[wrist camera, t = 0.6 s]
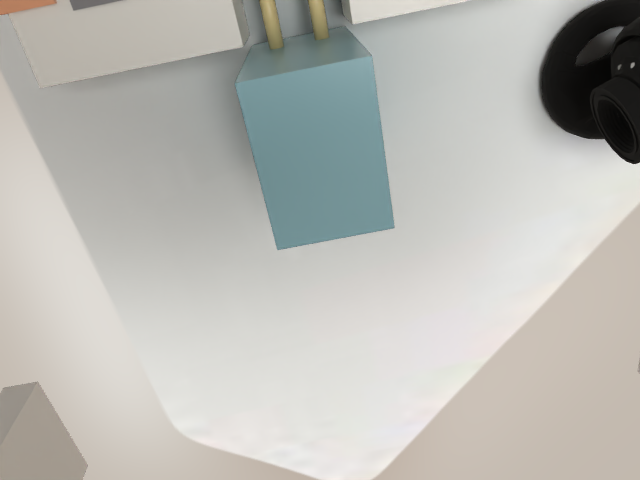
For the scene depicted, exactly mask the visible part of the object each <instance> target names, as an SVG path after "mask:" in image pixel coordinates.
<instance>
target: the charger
mask: <svg viewBox="0 0 640 480" xmlns="http://www.w3.org/2000/svg"><path fill="white" fill-rule="evenodd" d="M259 2H260V7H261V11H262V16H263V20H264V25H265V30H266V34H267V39H268V42H265V43H260V44H255V45H252V47H251V49H250V51H249V53H248V55H247V57H246V60H245V62H244V64H243V66H242V68H241V71H240V73H239V75H238V77H237V79H236V81H235V86H236V90H237V94H238V98H239V102H240V106H241V110H242V114H243V118H244V122H245V125H246V129H247V133H248V137H249V141H250V145H251V149H252V153H253V157H254V160H255V164H256V168H257V172H258V176H259V180H260V184H261V188H262V192H263V196H264V199H265V203H266V207H267V211H268V215H269V219H270V223H271V227H272V231H273V234H274V238H275V242H276V246H277V250H281V249H286V248H291V247H297V246H302V245H307V244H313V243H318V242H323V241H329V240H334V239H339V238H345V237H350V236H355V235H360V234H366V233H371V232H376V231H382V230H387V229H392V228H394V220H393V212H392V205H391V197H390V189H389V182H388V174H387V167H386V159H385V151H384V144H383V136H382V129H381V121H380V113H379V106H378V98H377V90H376V83H375V75H374V68H373V60H372V55H371V54H370V53H369V52H368V51H367V50H366V48H365V47H364V46H363V45H362V44H361V43H360V42H359V41H358V40H357V39H356V37H355V36H354V35H353V34H352V33H351V32H350V31H349V30H348V29H347V28H346V26H343V27H339V28H334V29H329V30H328V26H327V20H326V14H325V8H324V2H323V0H308V4H309V10H310V15H311V21H312V26H313V32H314V33H309V34H304V35H299V36H295V37H290V38H285V39H283V38H282V34H281V29H280V24H279V19H278V14H277V9H276V4H275V0H259Z"/></svg>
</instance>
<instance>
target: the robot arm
mask: <svg viewBox="0 0 640 480" xmlns="http://www.w3.org/2000/svg"><path fill="white" fill-rule="evenodd" d="M638 372H639V373H640V360H639V367H638ZM87 467H88V465H87V463H86V461H85V460H84V458H83V456H82V455H81V453H80V451H79V449H78V448H77V446H76V445H75V443H74V441H73V439H72V438H71V436H70V434H69V433H68V431H67V429H66V428H65V426H64V424H63V423H62V421H61V419H60V418H59V416H58V414H57V413H56V411H55V409H54V408H53V406H52V404H51V403H50V401H49V399H48V398H47V396H46V395H45V393H44V391H43V389H42V388H41V386H40V384H39V383H38V382H33V383H28V384H22V385H16V386H11V387H5V388H3V390H2V391H1V393H0V480H82V479H83V477H84V474H85V472H86V469H87Z"/></svg>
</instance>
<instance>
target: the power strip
mask: <svg viewBox="0 0 640 480" xmlns="http://www.w3.org/2000/svg"><path fill="white" fill-rule="evenodd" d="M466 1H471V0H341V2H342V9H343V15H344V17H345V18H346V19H347V20H348V21H350V22H351V23H352V24H358V23H363V22H368V21H373V20H378V19H383V18H388V17H393V16H397V15H402V14H407V13H412V12H417V11H422V10H427V9H432V8H437V7H441V6H446V5H451V4H456V3H461V2H466ZM4 14H8V15H9V17H10V20H11V22H12V24H13V27H14V29H15V31H16V34H17V36H18V38H19V41H20V43H21V45H22V47H23V50H24V52H25V54H26V57H27V59H28V61H29V64H30V66H31V68H32V71H33V73H34V75H35V78H36V80H37V82H38V85H39V87H40V88H45V87H50V86H55V85H60V84H65V83H70V82H74V81H79V80H84V79H89V78H94V77H99V76H104V75H109V74H114V73H118V72H123V71H128V70H133V69H138V68H143V67H148V66H153V65H158V64H163V63H167V62H172V61H177V60H182V59H187V58H192V57H197V56H202V55H207V54H211V53H216V52H221V51H226V50H231V49H236V48H241V47H244V45H245V43H246V41H247V39H248V38H249V36H250V33H249V29H248V24H247V20H246V16H245V12H244V7H243V3H242V0H0V15H4Z"/></svg>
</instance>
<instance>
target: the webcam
mask: <svg viewBox="0 0 640 480" xmlns="http://www.w3.org/2000/svg"><path fill="white" fill-rule="evenodd" d="M618 26H626V27H625V28H624V29H623V30H622V31H621V33H620V34H619V35H618V36H617V38H616V40H615V42H614V44H613V47H612V52H611V53H609V54H607V55H605V56H603V57H601V58H599V59H597V60H595V61H594V62H591V63H589V64H586V65H583V66H576V65H575V61H576V59H577V56H578V55H579V53H580V52H581V50H582V49H583V48H584V47H585V46H586V45H587V43H588V42H589V41H590V40H592V39H593V38H594V37H595V36H597V35H598V34H600V33H602V32H604V31H606V30H608V29H610V28H614V27H618ZM542 93H543V99H544V102H545V106H546V108H547V110H548V112H549V114H550V116H551V117H552V119H553V120H554V121H555V122H556V123H557V124H558V125H559V126H560V127H561V128H563V129H564V130H565V131H567V132H569V133H571V134H574V135H577V136H580V137H583V138H587V139H605V140H606V141H607V143H608V144H609V145H610V147H611V148H612V149H613V150H614V151H615V152H616V153H617V154H618V155H619V156H620V157H621V158H622V159H624V160H625V161H627V162H629V163H632V164H637V163H640V0H605V1H603V2H601V3H599V4H596V5H594V6H592V7H590V8H588V9H587V10H585V11H583V12H582V13H581V14H580V15H578V16H577V17H576V18H575V19H573V20H572V21H571V22H570V23H569V24H568V26H567V27H566V28H565V29H564V30H563V31H562V32H561V33H560V35H559V36H558V38H557V39H556V41H555V42H554V44H553V46H552V48H551V50H550V53H549V56H548V58H547V61H546V64H545V67H544V69H543V72H542Z"/></svg>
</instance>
